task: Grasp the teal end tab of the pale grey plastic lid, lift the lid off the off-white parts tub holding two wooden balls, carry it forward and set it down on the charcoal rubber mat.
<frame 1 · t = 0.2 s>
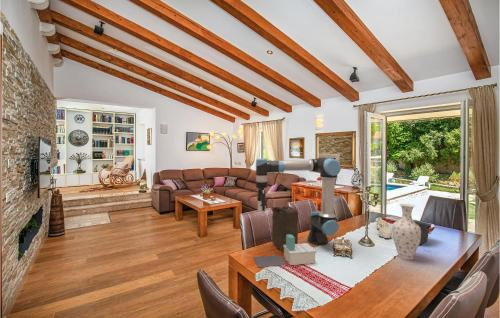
hand: (261, 212, 163), 28 cm above the table, fingers open, 13 cm apart
lid: (299, 249, 154), point 7 cm above the table, touching tub
ball a: (302, 257, 156), point 1 cm above the table, touching tub
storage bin: (418, 242, 186), on the table
ball b: (297, 260, 152), point 1 cm above the table, touching tub
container: (284, 248, 173), on the table
vase: (405, 257, 159), on the table
mat: (269, 261, 152), on the table
tub: (299, 260, 154), on the table
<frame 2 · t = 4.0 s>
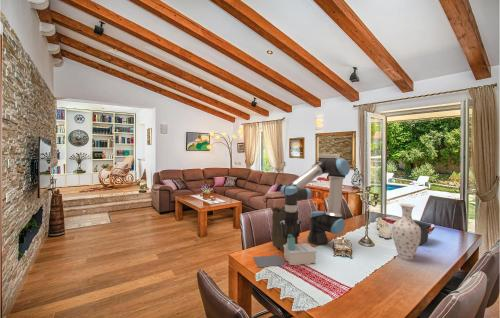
hand: (290, 247, 153), 9 cm above the table, fingers closed on lid, 3 cm apart
lid: (299, 249, 154), point 7 cm above the table, touching gripper, tub
everything else where it was.
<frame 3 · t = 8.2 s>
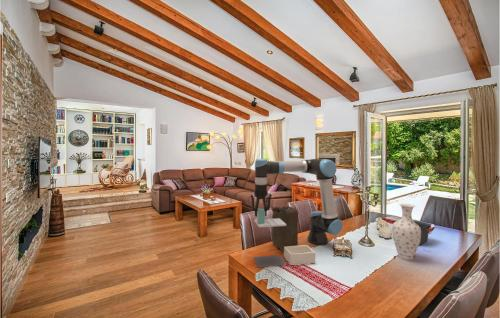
hand: (260, 221, 150), 26 cm above the table, fingers closed on lid, 3 cm apart
lid: (269, 223, 152), point 24 cm above the table, touching gripper
everything else where it was.
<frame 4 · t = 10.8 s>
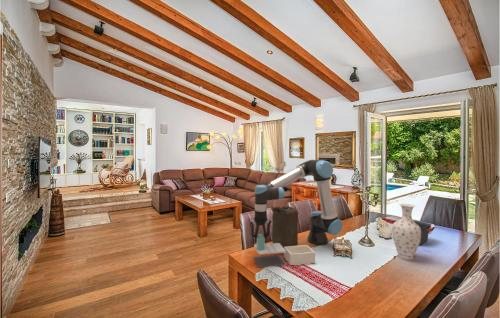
hand: (260, 247, 151), 9 cm above the table, fingers closed on lid, 3 cm apart
lid: (269, 249, 152), point 8 cm above the table, touching gripper
everything else where it was.
when the fingers open (4 cm above the table, at t = 12.7 s): lid drops 2 cm, resting on mat.
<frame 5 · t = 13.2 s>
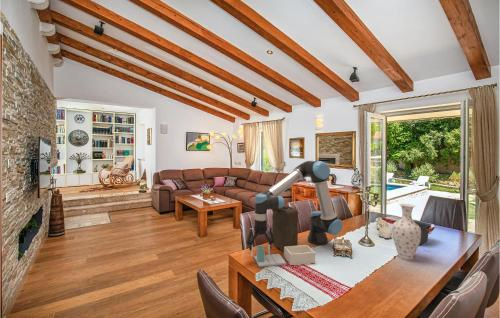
hand: (260, 254, 151), 5 cm above the table, fingers open, 10 cm apart
lid: (269, 260, 152), resting on mat
everything else where it was.
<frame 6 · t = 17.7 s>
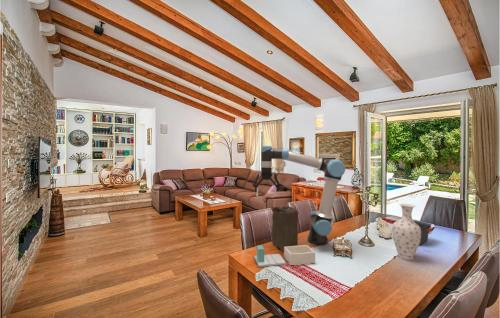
hand: (266, 196, 175), 37 cm above the table, fingers open, 13 cm apart
nothing on the table moved.
at the end: lid inside the target area on the mat (0.0 cm from its centre), point 0.4 cm above the mat's base; lid touching mat; lid tilted 0° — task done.
